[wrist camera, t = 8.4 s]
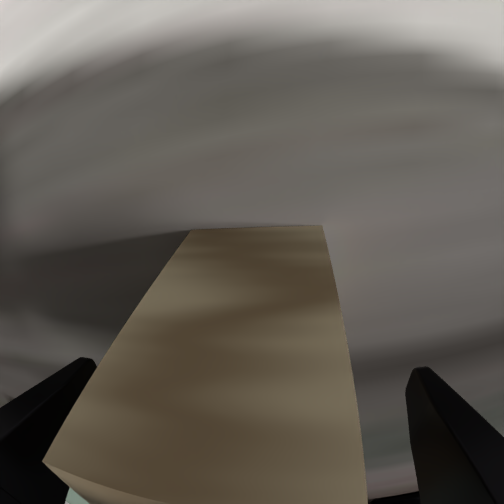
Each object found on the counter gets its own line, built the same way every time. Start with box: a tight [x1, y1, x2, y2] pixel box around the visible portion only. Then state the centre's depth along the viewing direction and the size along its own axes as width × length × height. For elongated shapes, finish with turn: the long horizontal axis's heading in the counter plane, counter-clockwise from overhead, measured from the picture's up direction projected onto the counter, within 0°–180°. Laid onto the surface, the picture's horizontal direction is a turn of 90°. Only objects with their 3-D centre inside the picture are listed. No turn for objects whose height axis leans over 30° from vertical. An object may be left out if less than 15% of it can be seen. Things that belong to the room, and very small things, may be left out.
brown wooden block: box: [42, 226, 368, 504], centre depth 8 cm, size 4×5×9 cm
